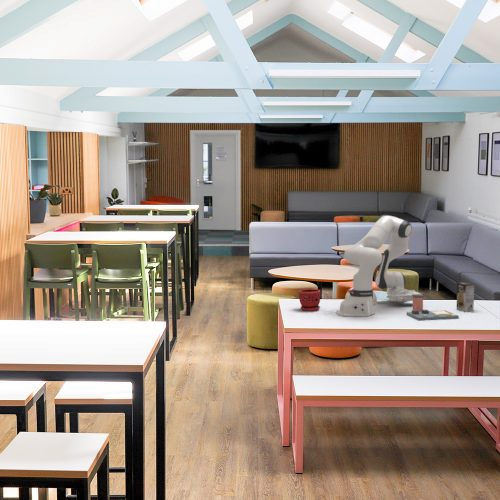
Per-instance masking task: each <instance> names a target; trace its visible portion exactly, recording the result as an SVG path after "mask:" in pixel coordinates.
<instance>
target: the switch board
mask: <svg viewBox="0 0 500 500" xmlns="http://www.w3.org/2000/svg"><path fill="white" fill-rule="evenodd" d="M406 316H408V317H410V318H413V319H414V320H416V321H419V322H420V321H435V320H437V321H438V320H456V319H460V317H459V315H458V314H457V313H456V314H455V313H452V312H450V311H448V310H430V311H429V310H428V309H423V310H422V312H419V311H417V310H413V309H412V310H411V311H407V312H406Z"/></svg>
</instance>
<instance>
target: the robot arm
mask: <svg viewBox="0 0 500 500" xmlns="http://www.w3.org/2000/svg"><path fill="white" fill-rule="evenodd" d="M412 230H413V227H412V224H411V223H410V222H409V221H408V220H404V219H402V218H398V217H396V216H394V215H393V216H392V215H388V214H382V215H380V216H378V218H377V219H376V221H375V223H374V224H373V226H371V228H370V229H369V231H368V232H367V233H366V235H364V237H363V238H362V239H360V240H359V241H357V242H356V243H355V244H353V245H351V246H348V247H346V248H345V251H344V252H343V254H344V255H343V256H344V257H343V258H344V260H345V261H346V263H349V264H351V265H355V266H358V267H359V268H358V271H357V272H355V274H354V275H353V277H352V287H353V289H352V290H349V289H350V288H348V289H347V290H346V291H347V292H348V293H350V296H349V297H348V298H346V299H345V298H344V300H343V301H341V302H340V304H339V305H340V306H339V310H336V311H335V313H336V315H337V316H341V317H369V316H371V315H375V314H376V313H375V308H374V305H373V291H374V290H373V278H374V273H375V270H376V269H377V267H379V268H378V272H377V274H376V276H375V280H374V281H375V282H374V283H375V286H376V287H377V288H378V289H380V290H385V289H386V298H388V300H389V301H390V302H398V303H400V304H404V303H407V302H413V297H412V294H421V295H423V294H422V293H420V292H418V291H415V289H406V286H407V278H406V276H405V275H404V274H403V272H402V271H394V272H387V271H388V268H389V266H390V265H389V264H390V263H391V262H392V261H393V260H394V259H396V258H399V257H402V256H403V255H405V253H407V251H408V248H409V243H410V242H409V241H410V239H409V238H410V235H411V233H412ZM389 237H390V240H389V241H390V242H389V245H388V247H386V249H385V250H384V251H383V254H382V252H381V251H380V250H379V249H380V248H382V247H383V245H384V244H385V242H386V241H387V240H388V238H389Z"/></svg>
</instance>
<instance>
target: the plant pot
mask: <svg viewBox="0 0 500 500" xmlns="http://www.w3.org/2000/svg"><path fill="white" fill-rule="evenodd" d="M321 297H322V296H321V290H320V289H317V288H312V289H311V288H307V289H300V290H298V298H299V302H300V309H301V310H302V311H305V312H316V311H319V309H320V308H321V306H320V302H321Z"/></svg>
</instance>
